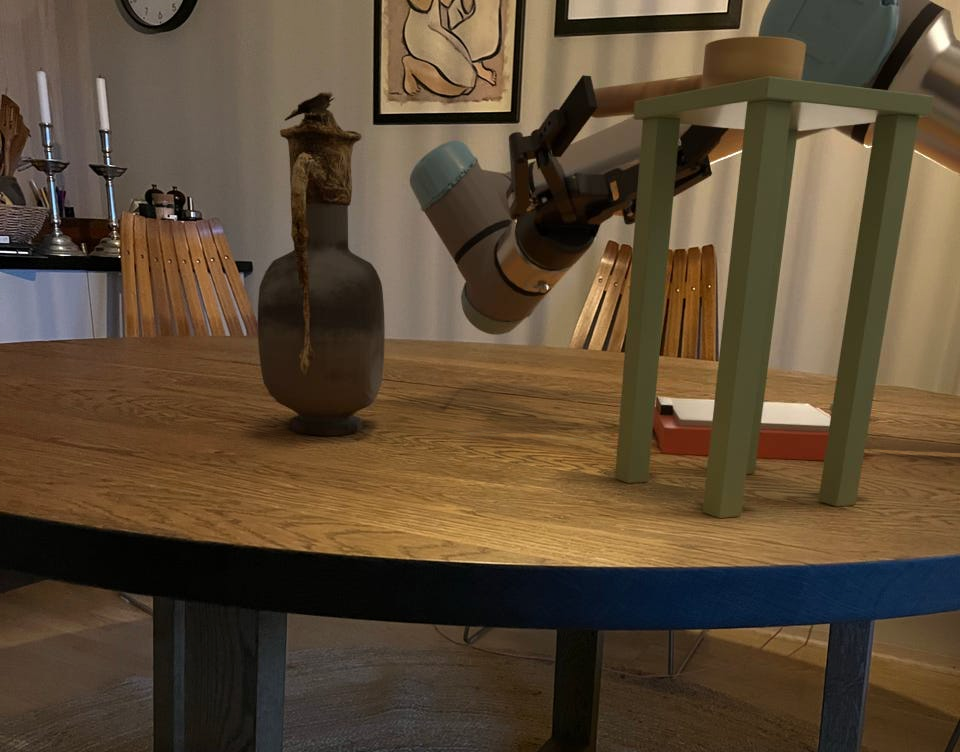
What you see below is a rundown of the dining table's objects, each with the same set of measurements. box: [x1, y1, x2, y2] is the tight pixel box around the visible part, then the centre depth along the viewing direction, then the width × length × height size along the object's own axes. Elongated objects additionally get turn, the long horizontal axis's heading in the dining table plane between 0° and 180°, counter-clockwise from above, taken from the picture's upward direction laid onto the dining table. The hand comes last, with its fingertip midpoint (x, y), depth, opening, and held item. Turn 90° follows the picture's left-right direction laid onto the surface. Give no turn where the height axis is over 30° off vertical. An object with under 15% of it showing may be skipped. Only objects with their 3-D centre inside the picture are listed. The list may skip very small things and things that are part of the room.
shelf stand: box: [614, 76, 934, 519], centre depth 77 cm, size 15×14×28 cm
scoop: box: [591, 36, 806, 119], centre depth 79 cm, size 20×7×4 cm, turn 37°
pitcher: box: [257, 91, 386, 437], centre depth 96 cm, size 11×19×30 cm, turn 178°
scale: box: [653, 396, 831, 462], centre depth 104 cm, size 18×18×3 cm
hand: (662, 98), depth 84 cm, fingers open, 13 cm apart
